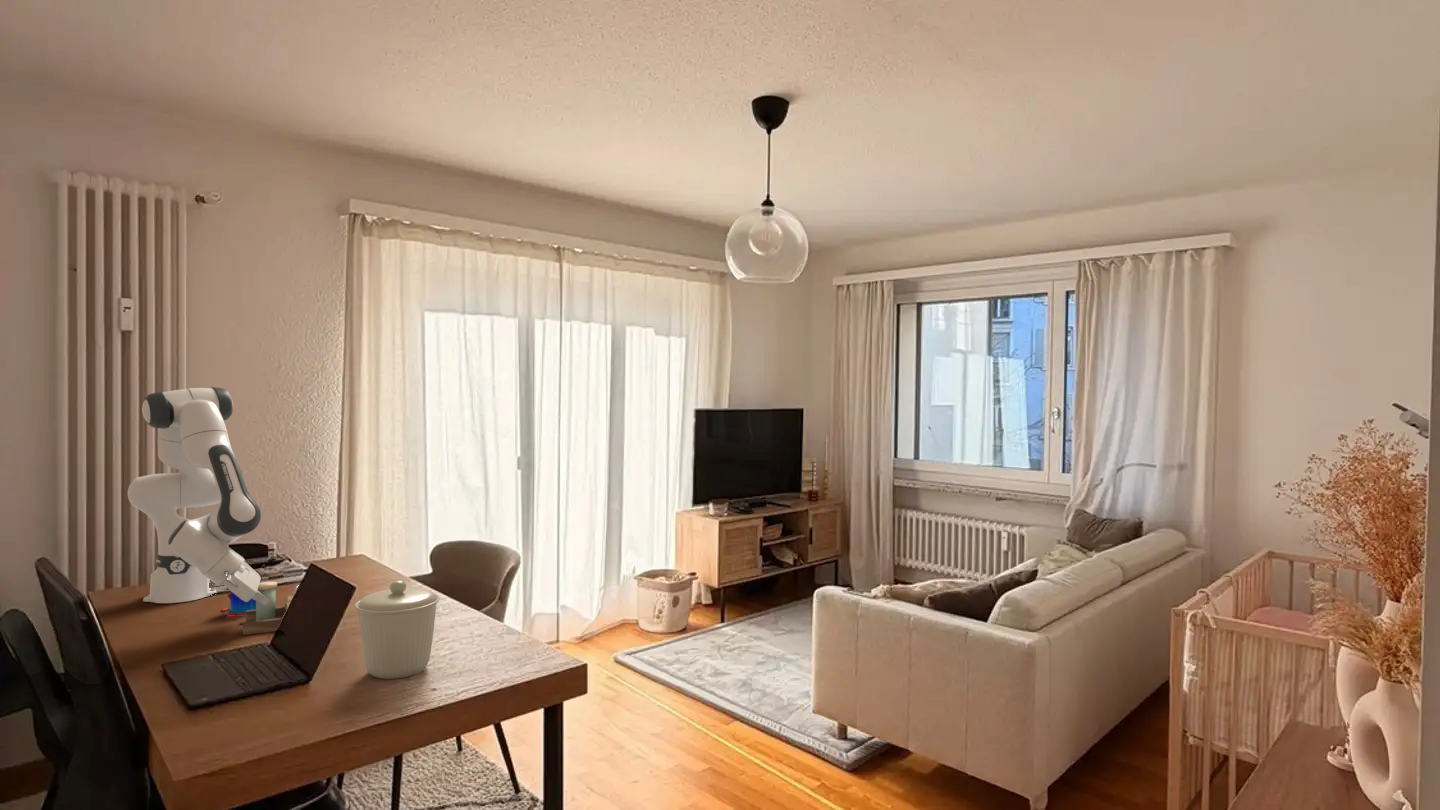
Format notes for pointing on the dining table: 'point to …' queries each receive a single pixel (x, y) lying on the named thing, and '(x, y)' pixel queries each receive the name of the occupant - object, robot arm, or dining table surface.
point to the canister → (397, 630)
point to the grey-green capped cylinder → (268, 610)
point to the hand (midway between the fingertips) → (268, 600)
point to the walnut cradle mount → (264, 625)
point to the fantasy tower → (238, 606)
